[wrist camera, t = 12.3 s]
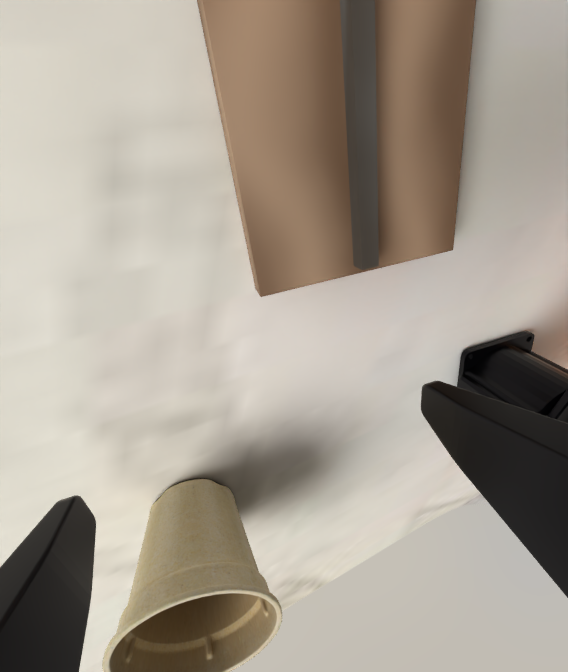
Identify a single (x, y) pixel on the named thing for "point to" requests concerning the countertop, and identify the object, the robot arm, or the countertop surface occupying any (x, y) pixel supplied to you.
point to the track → (341, 129)
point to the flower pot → (194, 589)
